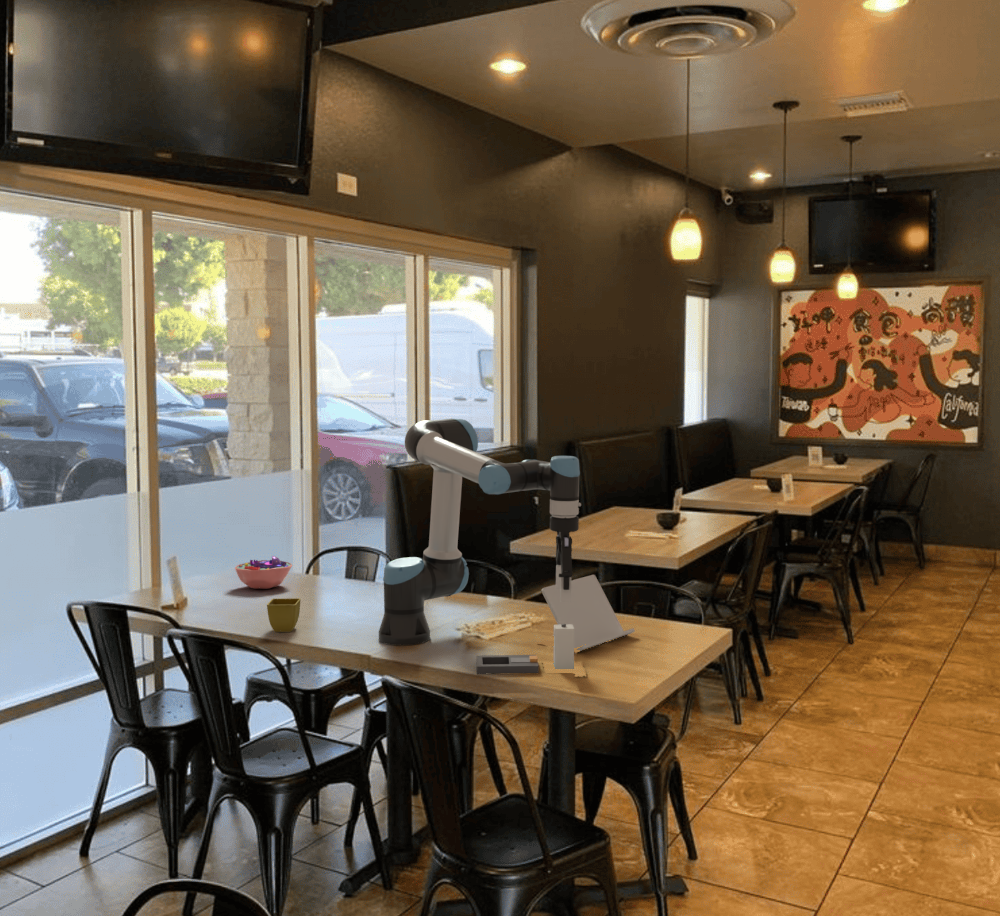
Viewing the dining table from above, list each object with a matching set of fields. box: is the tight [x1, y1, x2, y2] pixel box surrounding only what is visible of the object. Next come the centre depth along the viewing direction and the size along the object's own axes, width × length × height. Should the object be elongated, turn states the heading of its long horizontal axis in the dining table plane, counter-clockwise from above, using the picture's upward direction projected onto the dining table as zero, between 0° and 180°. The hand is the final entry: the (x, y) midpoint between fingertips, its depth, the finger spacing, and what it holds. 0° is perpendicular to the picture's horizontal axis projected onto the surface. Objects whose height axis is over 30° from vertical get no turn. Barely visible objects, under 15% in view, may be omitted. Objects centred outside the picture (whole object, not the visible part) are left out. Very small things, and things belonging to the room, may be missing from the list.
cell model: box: [234, 555, 293, 590], centre depth 378 cm, size 17×20×11 cm
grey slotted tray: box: [476, 654, 540, 675], centre depth 279 cm, size 16×10×4 cm, turn 92°
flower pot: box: [266, 597, 301, 633], centre depth 321 cm, size 9×9×9 cm
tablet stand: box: [541, 574, 635, 652], centre depth 308 cm, size 18×25×17 cm
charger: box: [553, 624, 575, 669], centre depth 279 cm, size 5×4×12 cm
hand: (563, 595), depth 278 cm, fingers open, 13 cm apart
